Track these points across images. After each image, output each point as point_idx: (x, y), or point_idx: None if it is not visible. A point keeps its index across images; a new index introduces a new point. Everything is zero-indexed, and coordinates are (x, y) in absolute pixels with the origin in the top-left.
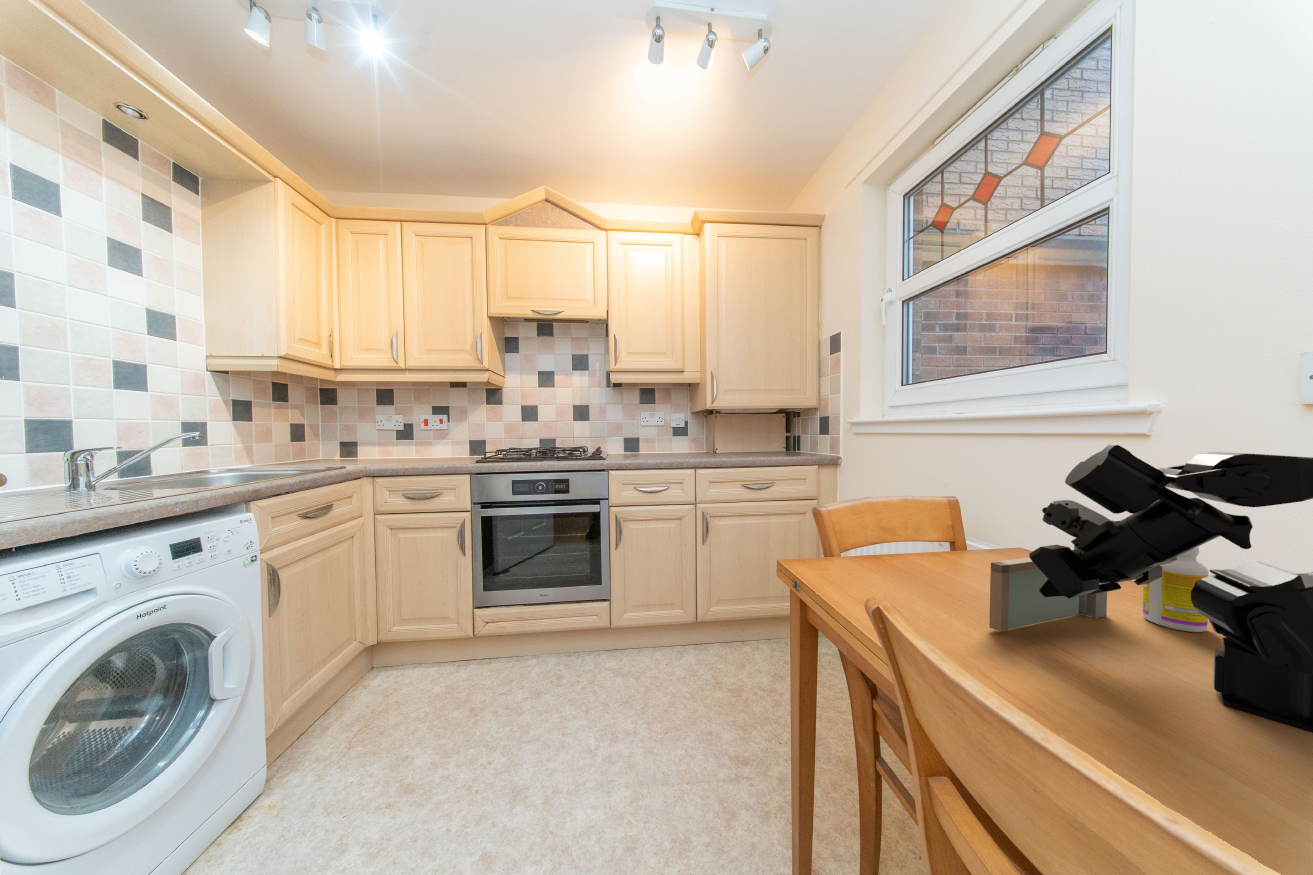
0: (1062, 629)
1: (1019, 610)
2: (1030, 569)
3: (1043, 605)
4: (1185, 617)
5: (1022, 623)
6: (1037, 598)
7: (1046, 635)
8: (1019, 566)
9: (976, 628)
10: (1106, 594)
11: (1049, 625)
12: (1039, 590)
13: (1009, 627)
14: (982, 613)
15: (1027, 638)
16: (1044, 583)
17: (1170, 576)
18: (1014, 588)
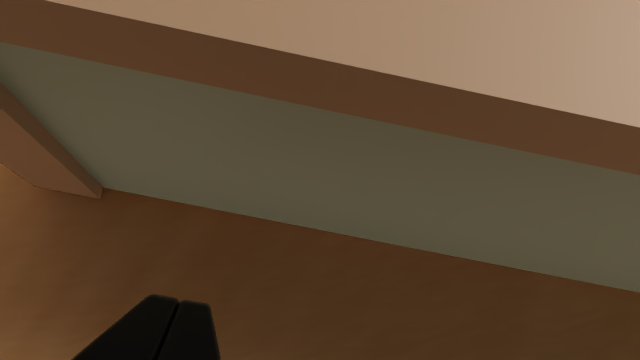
0: (471, 335)
1: (214, 187)
2: (343, 112)
3: (476, 237)
4: None
5: (251, 213)
6: (426, 211)
7: (286, 322)
8: (96, 36)
9: None
10: None
11: (467, 275)
12: (150, 297)
13: (135, 191)
14: None
15: (136, 284)
16: (79, 356)
17: None
18: (125, 116)
